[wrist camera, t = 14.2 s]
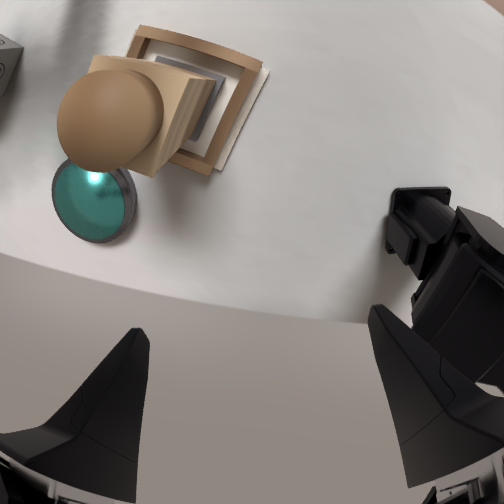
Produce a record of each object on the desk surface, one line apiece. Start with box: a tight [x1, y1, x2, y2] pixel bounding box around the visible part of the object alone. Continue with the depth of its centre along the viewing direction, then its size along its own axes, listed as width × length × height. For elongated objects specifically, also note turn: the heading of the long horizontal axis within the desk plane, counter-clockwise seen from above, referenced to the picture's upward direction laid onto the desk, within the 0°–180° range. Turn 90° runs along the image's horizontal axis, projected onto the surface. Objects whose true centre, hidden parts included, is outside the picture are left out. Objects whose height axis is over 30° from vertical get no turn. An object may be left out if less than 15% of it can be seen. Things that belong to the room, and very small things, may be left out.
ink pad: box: [52, 159, 137, 243], centre depth 20 cm, size 8×8×2 cm
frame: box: [124, 25, 270, 176], centre depth 16 cm, size 10×9×2 cm
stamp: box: [57, 55, 226, 177], centre depth 11 cm, size 5×5×11 cm
